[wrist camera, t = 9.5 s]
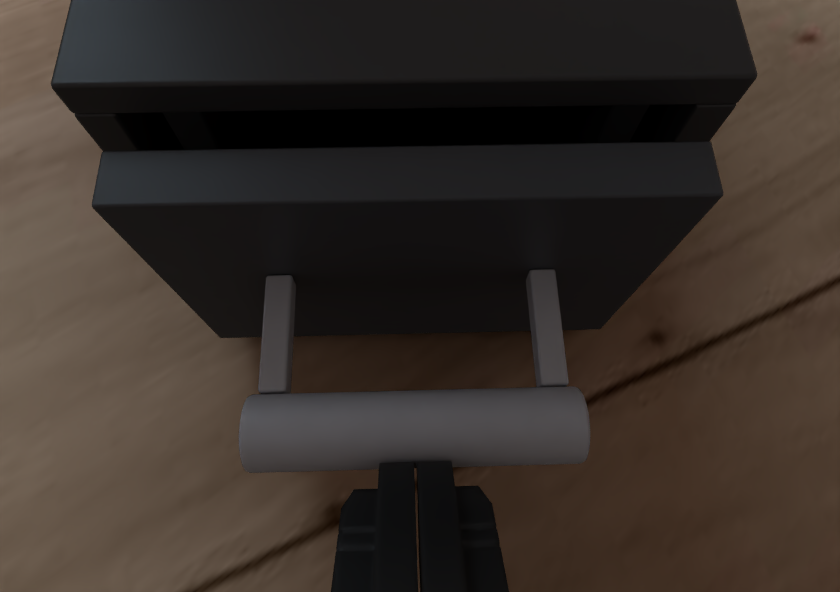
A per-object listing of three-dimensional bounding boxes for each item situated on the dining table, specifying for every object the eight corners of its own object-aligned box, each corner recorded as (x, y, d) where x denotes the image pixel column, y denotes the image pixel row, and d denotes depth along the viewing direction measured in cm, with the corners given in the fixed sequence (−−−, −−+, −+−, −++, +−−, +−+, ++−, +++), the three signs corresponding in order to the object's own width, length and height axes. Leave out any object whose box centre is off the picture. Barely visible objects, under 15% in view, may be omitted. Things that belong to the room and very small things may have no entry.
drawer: (622, 477, 17) (784, 435, 9) (205, 490, 16) (40, 455, 9) (552, -6, 23) (616, -252, 16) (252, -3, 23) (178, -251, 16)
